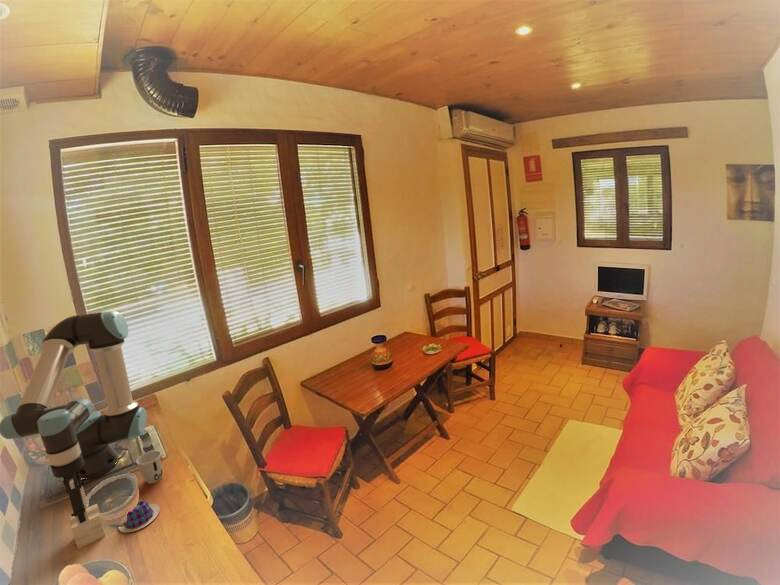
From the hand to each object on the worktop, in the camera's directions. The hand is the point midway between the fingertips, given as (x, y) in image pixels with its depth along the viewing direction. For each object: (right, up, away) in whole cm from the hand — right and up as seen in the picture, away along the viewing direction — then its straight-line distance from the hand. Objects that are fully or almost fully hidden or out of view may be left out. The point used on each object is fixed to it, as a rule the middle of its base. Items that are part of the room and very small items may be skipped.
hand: (84, 516), depth 120 cm
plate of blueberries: (+13, -6, +8) cm, 16 cm away
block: (0, -7, +2) cm, 8 cm away
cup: (+6, -1, +27) cm, 27 cm away
